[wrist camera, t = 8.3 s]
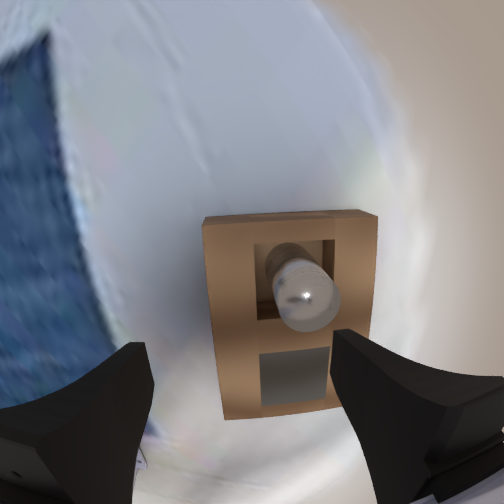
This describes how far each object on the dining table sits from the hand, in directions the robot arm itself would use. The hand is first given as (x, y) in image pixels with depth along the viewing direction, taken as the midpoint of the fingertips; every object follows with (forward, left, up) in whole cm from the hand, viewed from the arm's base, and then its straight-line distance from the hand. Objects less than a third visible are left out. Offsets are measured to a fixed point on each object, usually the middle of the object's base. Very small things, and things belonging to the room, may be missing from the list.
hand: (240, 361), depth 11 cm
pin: (+1, -3, -9) cm, 10 cm away
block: (-3, -3, -10) cm, 11 cm away
